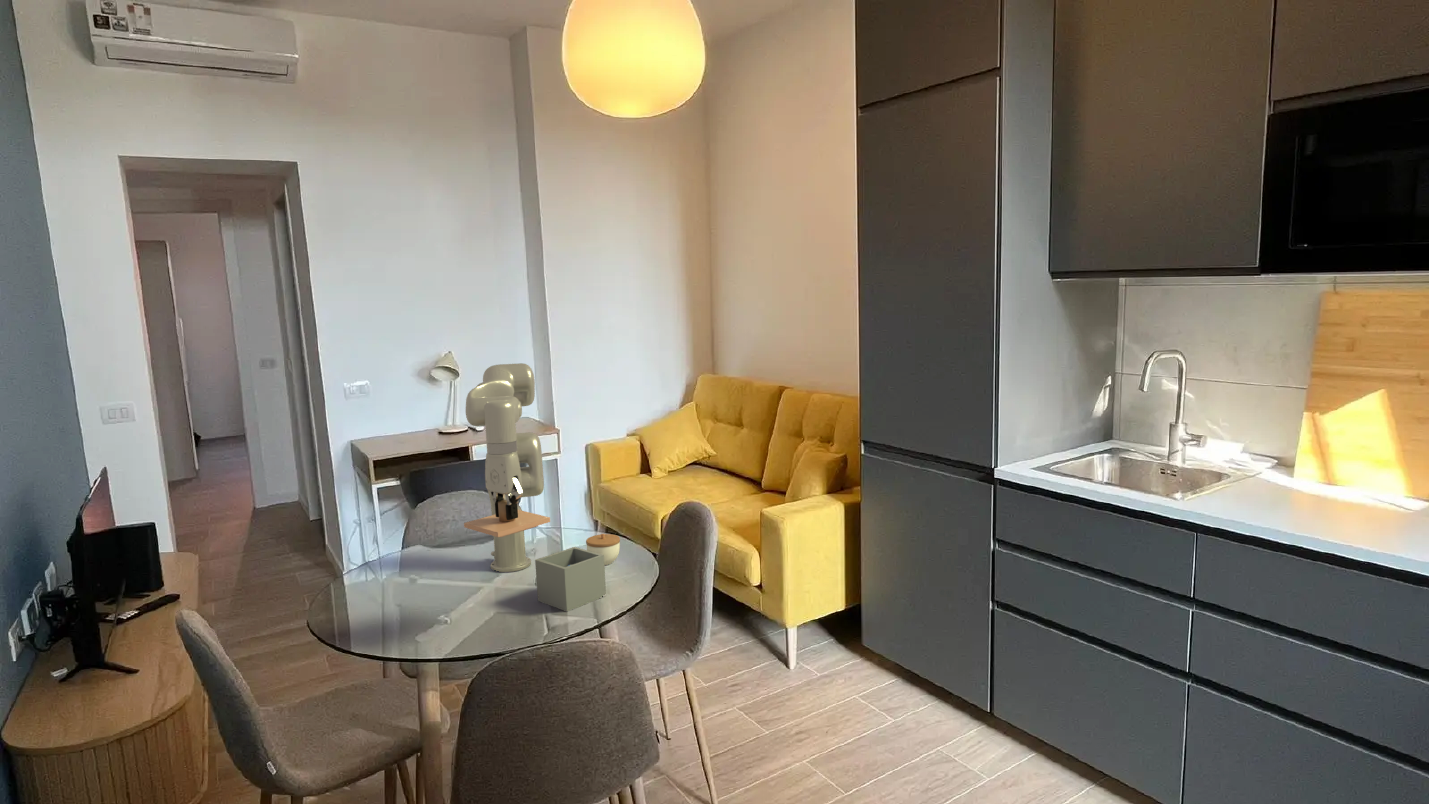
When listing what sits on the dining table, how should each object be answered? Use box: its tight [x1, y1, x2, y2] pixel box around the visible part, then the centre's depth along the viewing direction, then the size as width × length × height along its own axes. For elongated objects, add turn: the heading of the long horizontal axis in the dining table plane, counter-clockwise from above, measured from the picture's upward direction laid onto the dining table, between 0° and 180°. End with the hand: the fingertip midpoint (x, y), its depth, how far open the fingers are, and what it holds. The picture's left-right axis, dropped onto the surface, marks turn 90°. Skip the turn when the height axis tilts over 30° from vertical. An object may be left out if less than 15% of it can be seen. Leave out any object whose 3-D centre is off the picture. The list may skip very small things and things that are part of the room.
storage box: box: [534, 546, 607, 612], centre depth 224 cm, size 13×14×12 cm
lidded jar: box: [585, 533, 621, 566], centre depth 254 cm, size 11×11×9 cm
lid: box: [463, 500, 551, 537], centre depth 207 cm, size 15×16×7 cm
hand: (506, 516), depth 207 cm, fingers closed on lid, 4 cm apart
